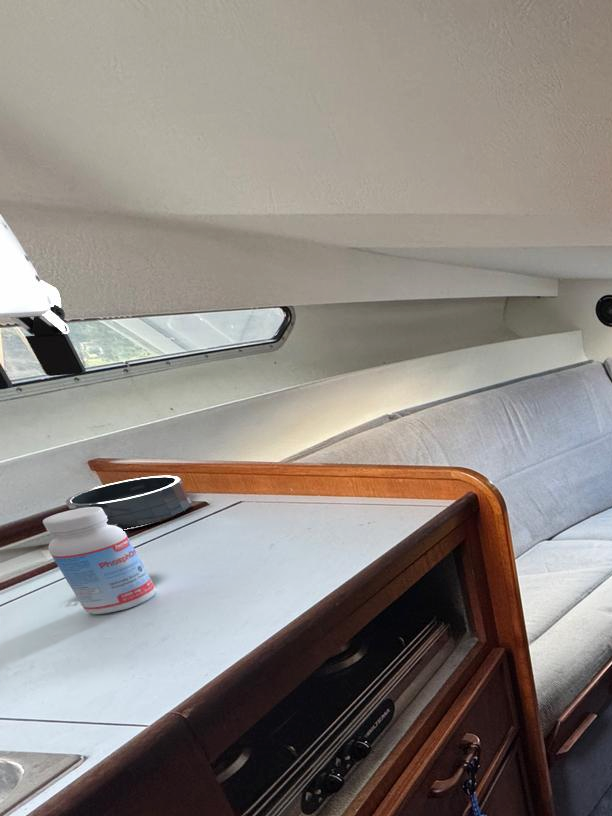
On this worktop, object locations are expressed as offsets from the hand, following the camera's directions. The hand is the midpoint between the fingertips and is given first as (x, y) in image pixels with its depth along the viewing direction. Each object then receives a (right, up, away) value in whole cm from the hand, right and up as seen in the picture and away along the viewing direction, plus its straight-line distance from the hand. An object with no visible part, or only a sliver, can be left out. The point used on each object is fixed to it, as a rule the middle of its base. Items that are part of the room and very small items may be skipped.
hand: (31, 381), depth 56 cm
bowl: (-26, -12, +35) cm, 46 cm away
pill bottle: (-2, -23, +11) cm, 26 cm away
